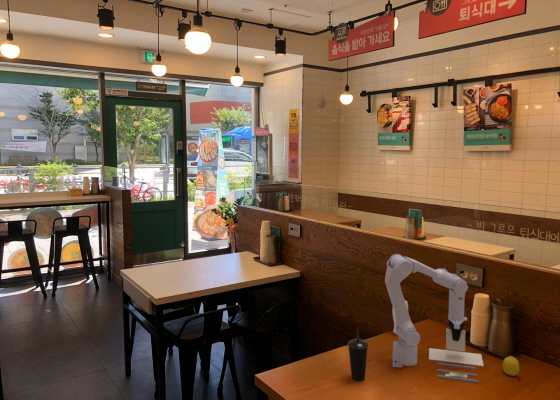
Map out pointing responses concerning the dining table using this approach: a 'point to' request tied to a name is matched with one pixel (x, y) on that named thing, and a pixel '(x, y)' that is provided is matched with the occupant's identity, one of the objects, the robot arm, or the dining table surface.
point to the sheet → (455, 344)
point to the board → (455, 357)
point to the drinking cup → (358, 357)
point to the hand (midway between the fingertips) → (455, 339)
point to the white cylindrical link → (396, 319)
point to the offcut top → (458, 375)
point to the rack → (456, 372)
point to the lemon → (511, 366)
